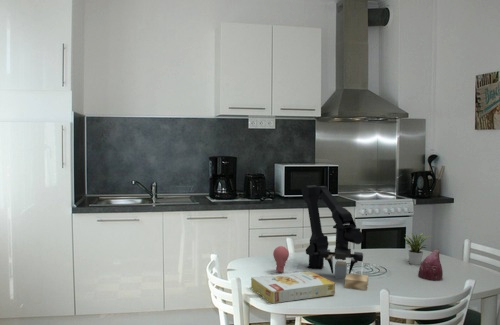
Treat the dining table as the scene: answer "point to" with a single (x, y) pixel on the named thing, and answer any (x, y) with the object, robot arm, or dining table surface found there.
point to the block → (356, 281)
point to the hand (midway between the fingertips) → (340, 274)
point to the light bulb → (280, 257)
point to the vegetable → (431, 267)
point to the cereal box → (292, 286)
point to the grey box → (340, 269)
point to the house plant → (415, 249)
